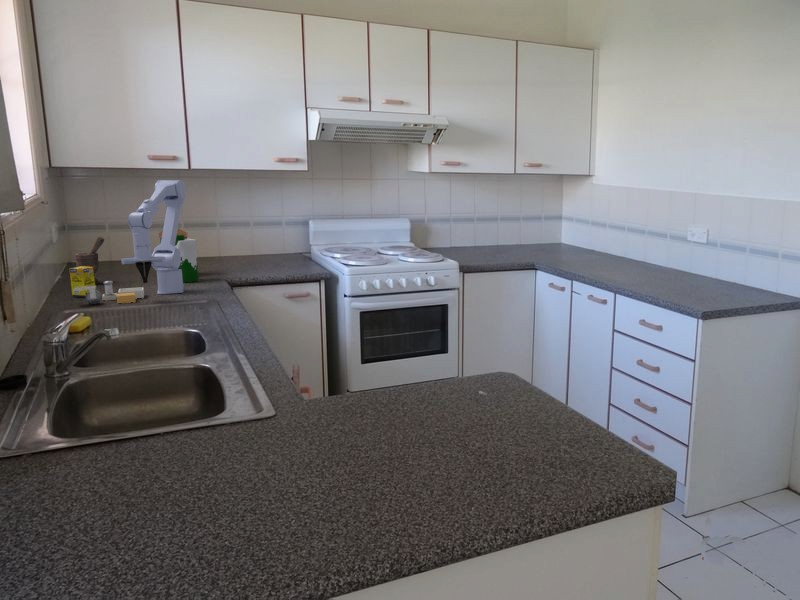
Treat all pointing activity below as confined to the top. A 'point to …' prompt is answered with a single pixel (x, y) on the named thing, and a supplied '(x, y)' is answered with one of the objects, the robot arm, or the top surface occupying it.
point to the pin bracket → (109, 297)
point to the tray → (133, 291)
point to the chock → (126, 298)
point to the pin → (108, 288)
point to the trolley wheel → (90, 294)
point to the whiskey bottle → (179, 232)
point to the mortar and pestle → (90, 257)
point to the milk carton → (187, 258)
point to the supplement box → (81, 279)
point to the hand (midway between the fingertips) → (145, 282)
